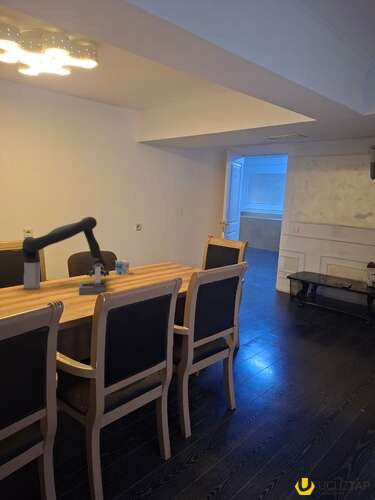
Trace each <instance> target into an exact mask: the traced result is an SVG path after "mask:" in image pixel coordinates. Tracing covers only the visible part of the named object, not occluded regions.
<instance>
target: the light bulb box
mask: <svg viewBox="0 0 375 500" xmlns="http://www.w3.org/2000/svg"><path fill="white" fill-rule="evenodd" d="M114 272H115V276H116V275H117V276H119V275H122V276H125V275H127V276H128V275H129V274H130V261H129V260H128V259H126V260H125V259H123V260H122V259H121V260H120V259H119V260H118V259H117V260H116V259H115V271H114Z"/></svg>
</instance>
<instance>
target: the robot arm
mask: <svg viewBox="0 0 375 500" xmlns="http://www.w3.org/2000/svg"><path fill="white" fill-rule="evenodd" d="M97 224H98V221H97V219H96V218H95V217H93V216H87V217H84V218H82V219H81V220H79V221H77V222H73V223H69V224H66V225H62V226H59V227H56V228H54V229H52V230H51V231H50V232H48V233H46V234H45V235H42V236H38V237H32V236H29V237H25V238H24V239H23V241H22V258H23V264H24V265H23V267H24V271H23V272H24V273H23V289H26V290H27V289H28V290H36V289H39V288H41V271H40V268H41V267H40V264H41V263H40V261H41V260H40V256H39V254H38V252H39V251H41V250H42V249H45V248H47V247H49V246H51V245H54V244H57V243H60V242H62V241H65V240H68V239H71V238H72V237H74V236H76V235H78V234H80V233H84V236H85V239H86V241H87V244H88V247H89V251H90V256H91V258H92V259H98V260H95V261H92V263H91V268H92V270H90V269H88V270H86V276H89V277H92V276H94V277H95V266H101V277H102V276H103V277H107V276H110V270H109V269H107V264H108V263H107V262H106V260H105V258H104V257H103V255H102V252H101V248H100V245H99V242H98V241H97V239H96V237H95V234H94V230H93V229H95V228H96V227H97ZM105 269H107V270H105Z"/></svg>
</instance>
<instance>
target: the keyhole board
mask: <svg viewBox="0 0 375 500" xmlns="http://www.w3.org/2000/svg"><path fill="white" fill-rule="evenodd" d="M104 292H105V293H106V281H105V280H102V281H101V284H95V280H94V281H93V282H80V283H79V286H78V295H79V296H80V295H101V294H100V293H104Z"/></svg>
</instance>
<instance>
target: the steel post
mask: <svg viewBox="0 0 375 500" xmlns="http://www.w3.org/2000/svg"><path fill="white" fill-rule="evenodd" d="M101 277H102V276H101V266H95V275H94V281H95V284H101V280H102V279H101Z"/></svg>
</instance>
